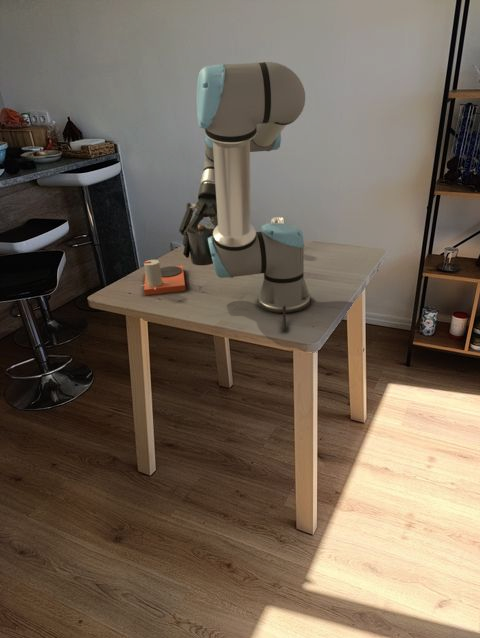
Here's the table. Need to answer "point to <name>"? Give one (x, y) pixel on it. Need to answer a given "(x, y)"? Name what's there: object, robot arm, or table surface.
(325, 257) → the table surface
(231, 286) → the table surface
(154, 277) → the hob knob
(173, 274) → the burner
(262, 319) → the table surface
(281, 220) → the wineglass
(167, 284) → the hot plate
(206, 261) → the enamel pot
